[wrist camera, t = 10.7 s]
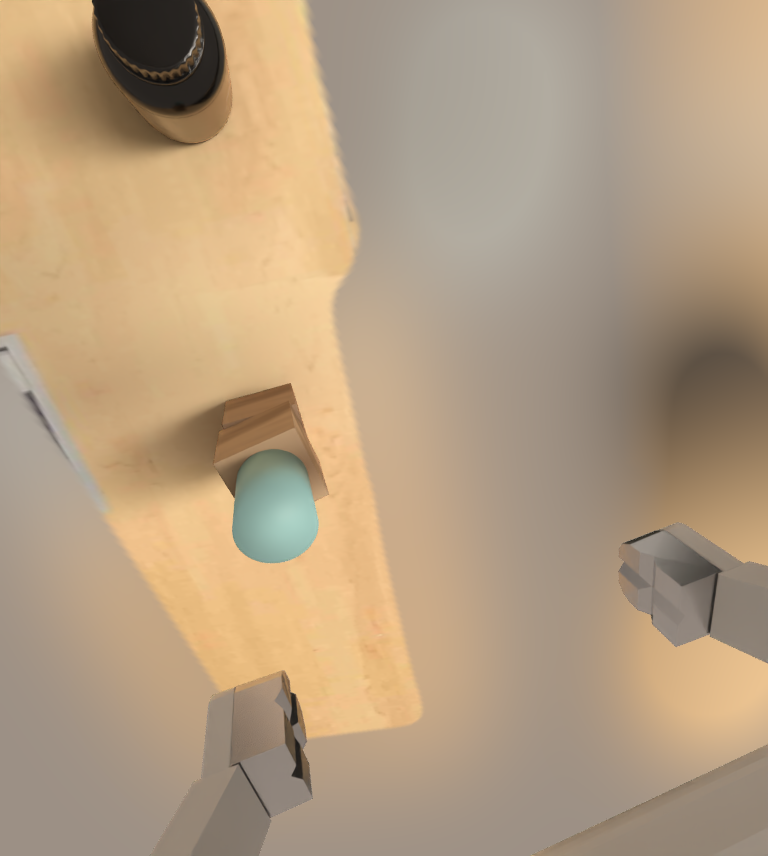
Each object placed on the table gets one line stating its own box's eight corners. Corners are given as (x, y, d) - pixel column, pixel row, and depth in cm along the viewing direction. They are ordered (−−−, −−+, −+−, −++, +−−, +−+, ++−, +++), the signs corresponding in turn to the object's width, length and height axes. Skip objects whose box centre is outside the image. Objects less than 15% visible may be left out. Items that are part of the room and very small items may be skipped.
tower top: (219, 431, 37) (213, 464, 31) (289, 400, 37) (294, 427, 32) (254, 489, 39) (254, 529, 34) (319, 460, 40) (328, 494, 34)
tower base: (226, 401, 42) (221, 424, 37) (290, 383, 43) (295, 403, 37) (247, 457, 44) (246, 488, 39) (308, 439, 45) (315, 466, 40)
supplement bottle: (253, 107, 34) (251, 47, 24) (181, 165, 35) (148, 131, 24) (183, 5, 31) (146, -116, 21) (106, 69, 32) (29, -18, 21)
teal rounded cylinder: (226, 461, 32) (219, 507, 26) (297, 440, 32) (305, 480, 27) (249, 520, 34) (248, 573, 28) (316, 499, 34) (327, 547, 29)
